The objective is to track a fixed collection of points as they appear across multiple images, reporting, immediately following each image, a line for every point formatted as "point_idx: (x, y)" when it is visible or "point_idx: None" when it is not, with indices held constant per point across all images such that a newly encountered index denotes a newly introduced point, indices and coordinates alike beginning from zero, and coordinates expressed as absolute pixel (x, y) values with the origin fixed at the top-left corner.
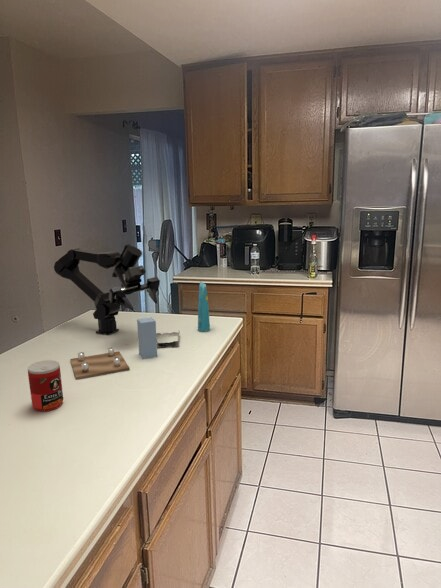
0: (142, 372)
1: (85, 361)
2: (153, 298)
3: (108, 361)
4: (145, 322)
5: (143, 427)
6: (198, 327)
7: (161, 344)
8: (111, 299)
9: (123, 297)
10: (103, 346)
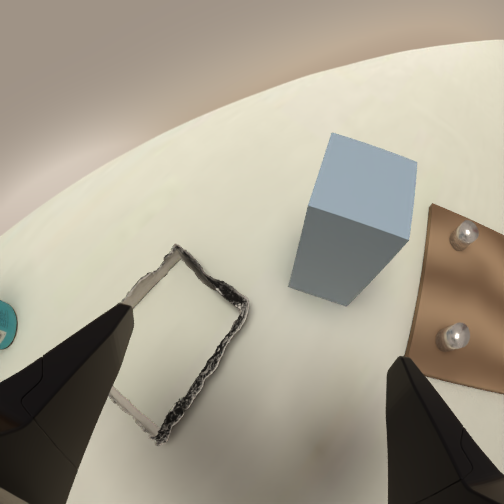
0: None
1: None
2: (102, 371)
3: (468, 295)
4: (390, 152)
5: (449, 59)
6: (6, 330)
7: (229, 300)
8: None
9: (490, 474)
10: None
